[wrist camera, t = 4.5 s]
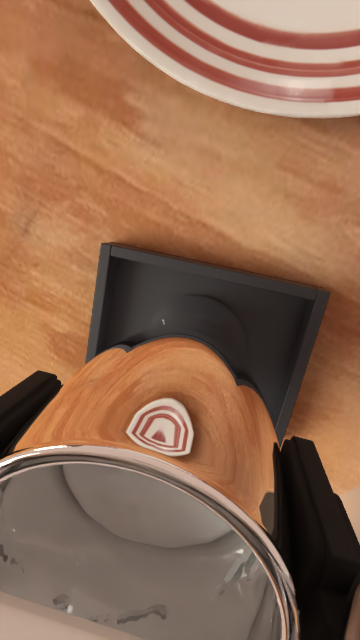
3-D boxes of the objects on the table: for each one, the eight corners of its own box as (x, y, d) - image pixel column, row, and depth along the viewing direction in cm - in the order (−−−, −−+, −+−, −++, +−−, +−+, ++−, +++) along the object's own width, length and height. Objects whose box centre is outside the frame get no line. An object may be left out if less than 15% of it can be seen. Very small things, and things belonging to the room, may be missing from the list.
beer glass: (271, 306, 19) (394, 526, 5) (235, 412, 21) (241, 804, 6) (153, 273, 20) (-68, 377, 5) (128, 379, 21) (-85, 673, 7)
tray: (321, 287, 19) (331, 292, 17) (274, 437, 21) (278, 455, 20) (112, 241, 20) (100, 242, 18) (91, 390, 22) (79, 403, 21)
